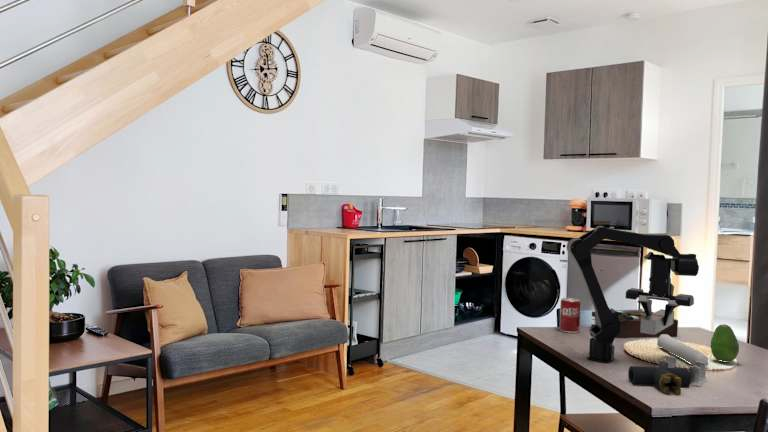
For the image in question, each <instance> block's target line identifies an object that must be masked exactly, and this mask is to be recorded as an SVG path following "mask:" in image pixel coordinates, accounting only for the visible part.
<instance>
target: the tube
mask: <svg viewBox="0 0 768 432" xmlns="http://www.w3.org/2000/svg"><path fill="white" fill-rule="evenodd" d="M656 341H657V343H656V345H657V347H659V348H660V347H662V348H664V349H665V351H666V350H667V351H666V352H668V351H669V352H671V353H673V354H675V355H677V356H679V357H681V358H683V359H685V360H686V361H688V362H690V363H691V364H692V365H696V361H700V362H705V363H706V367H707V366H708V365H709V357H708V356H707V355H705V354H704V353H702V352H701V351H699V350H697V349H695V348H693V347H691V346H690V345H687V344H685V343H684V342H682V341H679V340H677V339H676V338H675V337H670V336H669V335H668V334H661V336H660V337H657V340H656ZM664 349H663V350H664ZM669 352H668V353H669ZM671 353H670V354H671ZM673 354H672V355H673ZM675 355H674V356H675ZM677 356H676V357H677ZM691 364H690V365H691ZM692 365H691V366H692Z"/></svg>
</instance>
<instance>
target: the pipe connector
mask: <svg viewBox="0 0 768 432" xmlns="http://www.w3.org/2000/svg"><path fill="white" fill-rule="evenodd" d="M627 374H628V375H627V376H628V382H629V383H630V384H632V385H640V386H641V385H643V386H656V387H658V389H659V390H660V391H662V393H664V394H675V395H681V394H682V393H681V392H682V389H681V387H686V388H687V387H690V386H691V385H690V383H691V375H690V369H688V368H686V367H675V368H668V367H659V366H642V365H641V366H640V365H639V366H637V365H630V366H629V367H628V373H627Z"/></svg>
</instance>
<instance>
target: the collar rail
mask: <svg viewBox="0 0 768 432" xmlns="http://www.w3.org/2000/svg"><path fill="white" fill-rule="evenodd" d="M676 358H677V356H671V355H665V359H662V360H660V359H659V360H658V367H668V368H676V360H677V359H676ZM706 369H707V366H706V363H705V362H700V361H696V365H694V366H692V365H690V366H689V372H690V375H691V383H690V386H693V387H694V386H695V387H701V386H702V385H703V384H704V383H705V382H706V381H707V376H706Z"/></svg>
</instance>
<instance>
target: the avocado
mask: <svg viewBox="0 0 768 432" xmlns="http://www.w3.org/2000/svg"><path fill="white" fill-rule="evenodd" d="M739 349H740V344H739V341H738V339H737V336H736V335H735V333H734V330H733V329H732V327H731V326H730V325H727V324H719V325H718V326H717V327H715V329H714V332H713V333H712V336H711V340H710V351H711V354H712V356H713V357H714V359H716V360H717V361H718V360H722V361H731V362H733V361H734V360H735V359H736V358H737V356H738V355H739V352H740V350H739Z"/></svg>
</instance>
